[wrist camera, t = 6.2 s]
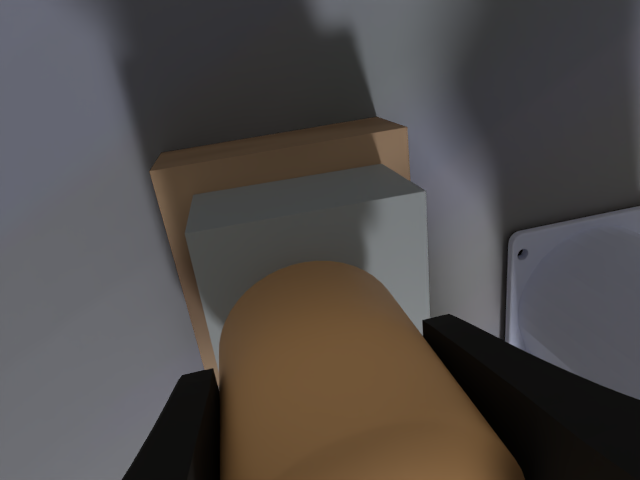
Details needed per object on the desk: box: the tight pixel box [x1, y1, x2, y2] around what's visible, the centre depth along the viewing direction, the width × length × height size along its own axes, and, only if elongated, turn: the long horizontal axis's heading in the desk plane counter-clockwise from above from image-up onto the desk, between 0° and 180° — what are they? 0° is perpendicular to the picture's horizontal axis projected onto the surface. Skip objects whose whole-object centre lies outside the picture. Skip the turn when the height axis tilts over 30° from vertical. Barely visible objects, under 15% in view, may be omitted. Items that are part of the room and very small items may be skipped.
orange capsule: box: [219, 261, 525, 480], centre depth 9 cm, size 4×4×5 cm
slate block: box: [185, 164, 430, 371], centre depth 14 cm, size 6×6×4 cm
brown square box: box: [149, 117, 410, 386], centre depth 17 cm, size 8×8×4 cm
